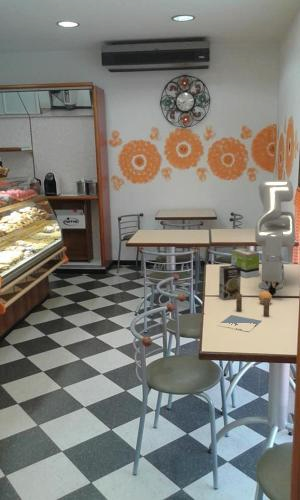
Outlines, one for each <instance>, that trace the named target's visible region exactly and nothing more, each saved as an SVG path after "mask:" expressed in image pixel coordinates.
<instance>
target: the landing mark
mask: <svg viewBox="0 0 300 500" xmlns="http://www.w3.org/2000/svg"><path fill="white" fill-rule="evenodd" d="M261 322H262V320H259V319H256V318H255V319H254V318H249V317H244V316H239V315H233V314H231V315H229V316H228V317H226V318H225V319H224V320H222V321H221V322H220V323H229V324H230V323H232V324H233V323H234V324H235V326H236V325H238V324H237V323H250V324H251V323H253V324H256V326H258V325H259V324H260V323H261ZM258 323H259V324H258ZM232 324H231V325H232ZM257 324H258V325H257ZM236 329H237V328H236ZM236 329H235V330H236Z"/></svg>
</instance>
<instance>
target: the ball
mask: <svg viewBox="0 0 300 500" xmlns="http://www.w3.org/2000/svg"><path fill="white" fill-rule="evenodd" d="M264 298H269V303H271V302H272V299H273V296H272V295H271V294H270V293H269V291H268V290H267V291H266V290H264V291H262V292H260V293H259V295H258V300H259V301H260V303H261V304H264Z"/></svg>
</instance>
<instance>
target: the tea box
mask: <svg viewBox="0 0 300 500" xmlns="http://www.w3.org/2000/svg"><path fill="white" fill-rule="evenodd" d="M230 251H231V261H230V263H231V265H236V266H239V267H241V278H244V279H250V278H255V277H259V276H260V252H258V251H255V250H252V249H251V250H250V249H248V248H237V249H231V250H230Z"/></svg>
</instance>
